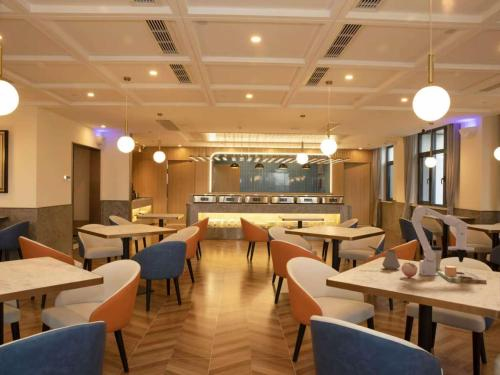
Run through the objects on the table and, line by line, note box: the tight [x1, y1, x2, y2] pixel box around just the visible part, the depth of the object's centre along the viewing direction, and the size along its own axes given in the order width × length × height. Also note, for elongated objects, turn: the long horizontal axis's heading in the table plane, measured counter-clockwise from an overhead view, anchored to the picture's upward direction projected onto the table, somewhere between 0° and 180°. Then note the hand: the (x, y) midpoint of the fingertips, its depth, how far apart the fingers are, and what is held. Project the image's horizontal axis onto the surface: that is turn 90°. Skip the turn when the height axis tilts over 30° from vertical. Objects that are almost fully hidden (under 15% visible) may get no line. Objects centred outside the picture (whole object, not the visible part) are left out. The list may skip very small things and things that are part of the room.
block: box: [444, 265, 457, 276], centre depth 245 cm, size 5×5×5 cm
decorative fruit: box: [400, 261, 418, 278], centre depth 244 cm, size 9×8×10 cm
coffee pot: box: [367, 245, 401, 271], centre depth 273 cm, size 21×12×15 cm, turn 70°
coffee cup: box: [430, 245, 443, 270], centre depth 277 cm, size 9×9×15 cm
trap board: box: [437, 270, 487, 285], centre depth 244 cm, size 20×23×2 cm
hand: (460, 261), depth 249 cm, fingers closed
